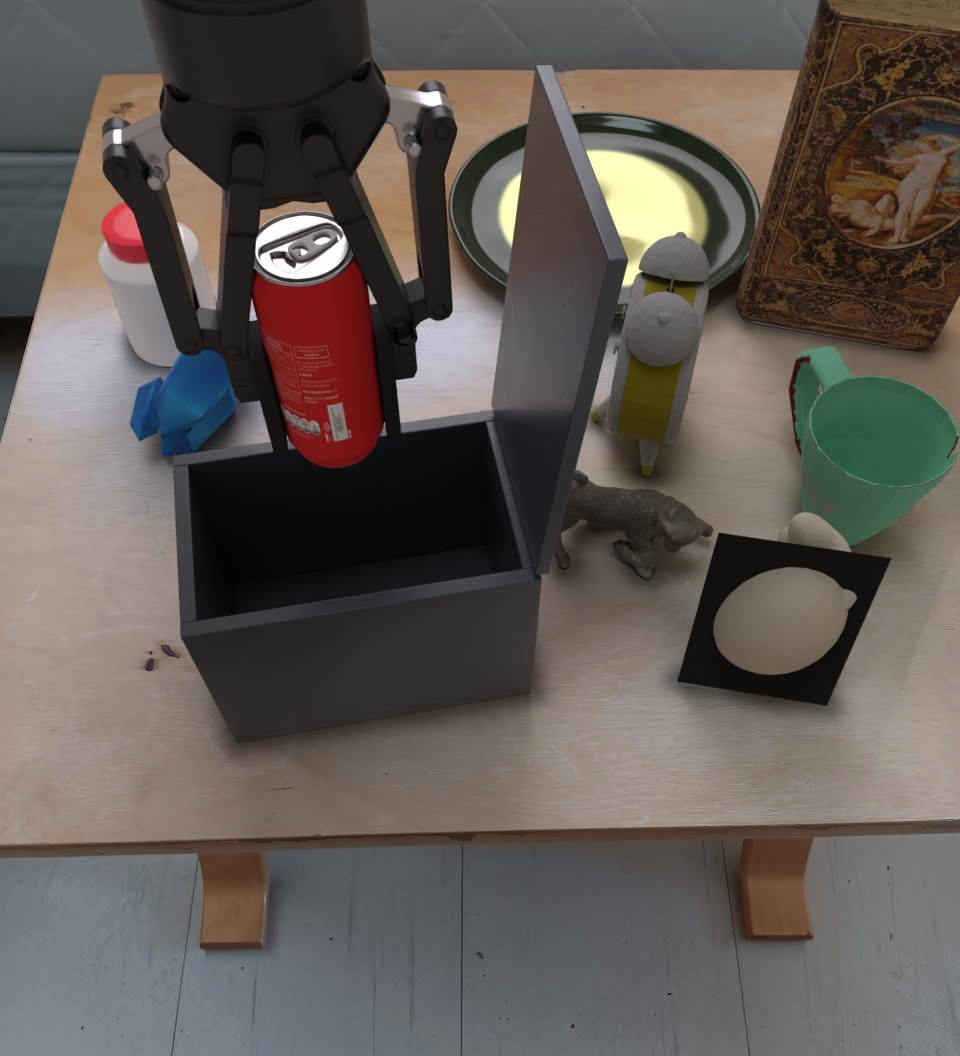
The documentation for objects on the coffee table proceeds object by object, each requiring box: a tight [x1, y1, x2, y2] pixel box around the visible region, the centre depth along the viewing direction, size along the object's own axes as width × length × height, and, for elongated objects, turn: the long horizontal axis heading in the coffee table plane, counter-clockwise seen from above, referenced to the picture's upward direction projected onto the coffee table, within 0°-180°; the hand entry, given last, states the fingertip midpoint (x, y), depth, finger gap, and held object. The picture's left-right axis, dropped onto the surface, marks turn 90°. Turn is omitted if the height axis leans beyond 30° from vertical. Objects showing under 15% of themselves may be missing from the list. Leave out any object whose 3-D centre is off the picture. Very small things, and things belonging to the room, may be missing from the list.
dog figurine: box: [554, 469, 715, 579], centre depth 69 cm, size 12×6×7 cm, turn 74°
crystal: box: [129, 350, 237, 457], centre depth 75 cm, size 7×9×12 cm
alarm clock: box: [589, 232, 710, 477], centre depth 72 cm, size 12×7×15 cm, turn 167°
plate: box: [447, 111, 762, 318], centre depth 89 cm, size 28×28×2 cm
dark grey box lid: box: [490, 64, 628, 575], centre depth 49 cm, size 21×13×1 cm
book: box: [735, 0, 960, 351], centre depth 74 cm, size 16×6×25 cm, turn 76°
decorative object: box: [676, 511, 892, 707], centre depth 64 cm, size 13×10×10 cm
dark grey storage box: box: [172, 409, 543, 744], centre depth 63 cm, size 20×13×14 cm, turn 101°
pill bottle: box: [97, 201, 217, 368], centre depth 79 cm, size 8×8×11 cm
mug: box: [788, 345, 960, 547], centre depth 71 cm, size 15×10×10 cm
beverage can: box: [251, 210, 385, 468], centre depth 48 cm, size 5×5×12 cm
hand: (335, 426), depth 52 cm, fingers closed on beverage can, 5 cm apart
